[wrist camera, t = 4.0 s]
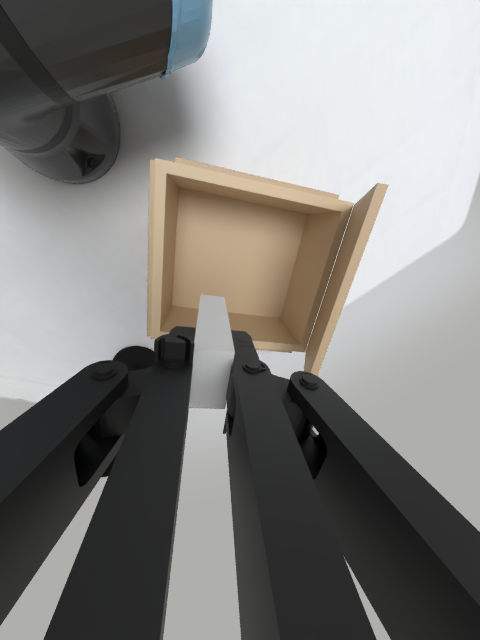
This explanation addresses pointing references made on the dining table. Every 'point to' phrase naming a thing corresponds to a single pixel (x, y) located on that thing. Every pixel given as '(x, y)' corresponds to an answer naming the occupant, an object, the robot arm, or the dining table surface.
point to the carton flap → (343, 275)
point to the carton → (239, 251)
